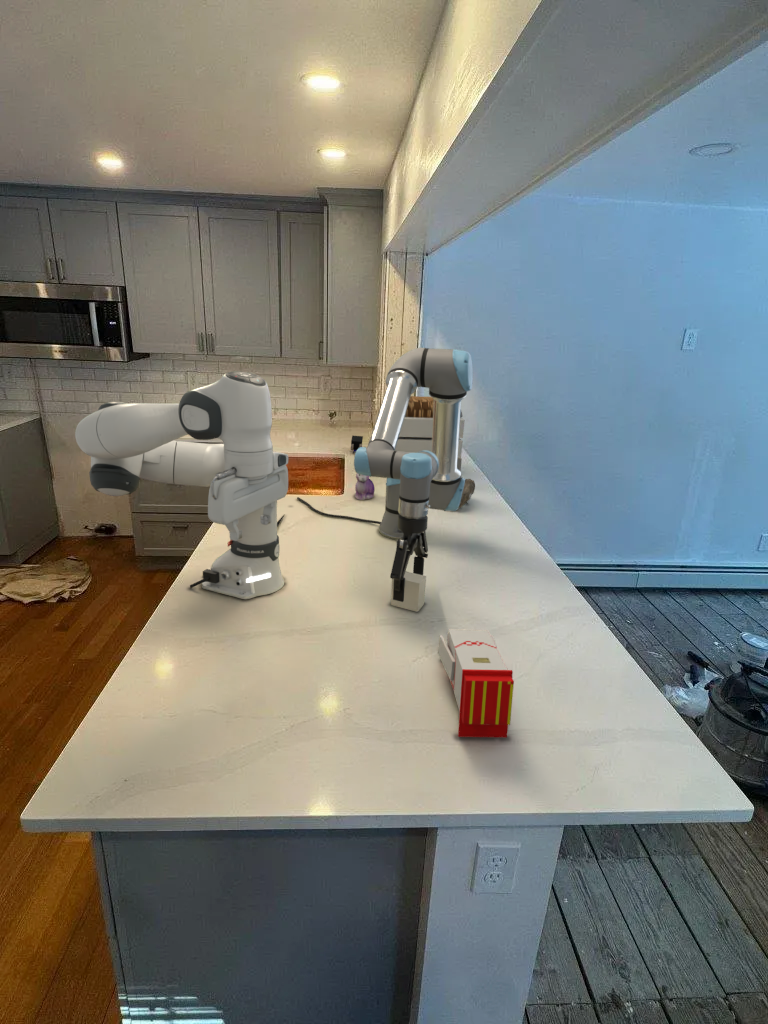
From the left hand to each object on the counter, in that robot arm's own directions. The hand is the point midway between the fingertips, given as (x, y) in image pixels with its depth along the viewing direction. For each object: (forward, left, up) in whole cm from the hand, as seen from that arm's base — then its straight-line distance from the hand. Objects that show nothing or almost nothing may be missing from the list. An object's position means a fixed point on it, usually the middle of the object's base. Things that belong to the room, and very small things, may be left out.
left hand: (251, 531), depth 110 cm
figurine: (-6, +124, -33) cm, 128 cm away
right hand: (+26, +39, -28) cm, 55 cm away
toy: (+45, +5, -33) cm, 56 cm away
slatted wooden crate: (+11, +168, -33) cm, 172 cm away
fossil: (+33, +128, -33) cm, 136 cm away
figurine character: (-28, +199, -33) cm, 204 cm away
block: (+26, +39, -33) cm, 57 cm away
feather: (-28, +90, -33) cm, 100 cm away
